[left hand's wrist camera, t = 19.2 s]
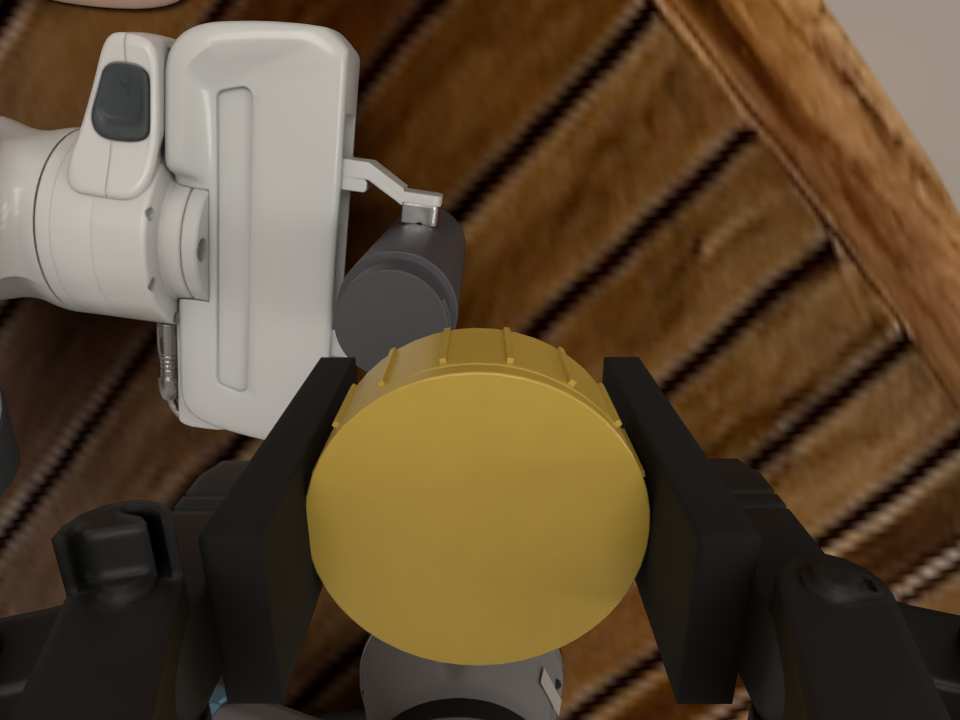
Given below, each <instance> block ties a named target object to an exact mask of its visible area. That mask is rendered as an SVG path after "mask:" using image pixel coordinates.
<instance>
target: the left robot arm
mask: <svg viewBox="0 0 960 720" xmlns="http://www.w3.org/2000/svg"><path fill="white" fill-rule="evenodd" d="M353 383H354V384H356V385H357V373H356V359H355V357H321V358H320V359H319V361H318V362H317V364H316V365H315V367H314V368H313V370H312V371H311V373H310V374H309V376H308V377H307V378H306V380H305V381H304V383H303V384H302V386H301V387H300V389H299V390H298V392H297V393H296V395H295V396H294V398H293V399H292V400H291V402H290V403H289V405H288V406H287V408H286V409H285V411H284V412H283V414H282V415H281V417H280V418H279V420H278V421H277V422H276V424H275V425H274V427H273V428H272V430H271V431H270V433H269V434H268V436H267V437H266V439H265V440H264V442H263V443H262V444H261V446H260V447H259V449H258V450H257V452H256V453H255V455H254V456H253V458H252V459H251V461H222V462H220V463H219V464H217V465H216V466H214V467H212V468H211V469H209V470H208V471H206V472H205V473H203V474H201V475H200V476H199V477H198V478H197V480H196V481H195V482H194V483H193V485H192V486H191V487H190V488H189V490H188V491H187V492H186V496H185V497H182V498H181V500H180V501H179V502H178V503H177V505H176V506H175V507H174V512H172V511H171V510H170V509H169V508H168V507H166V506H165V505H164V504H162V503H158V502H153V501H149V500H134V501H123V502H118V503H114V504H110V505H105V506H102V507H99V508H97V509H94V510H92V511H89V512H87V513H84V514H82V515H80V516H78V517H77V518H75V519H74V520H72V521H70V522H69V523H67V524H66V525H64V526H63V527H62V528H61V529H60V530H59V531H58V532H57V533H56V534H55V535H54V537H53V538H52V539H51V540H52V544H53V548H54V551H55V555H56V558H57V562H58V566H59V569H60V573H61V577H62V580H63V584H64V587H65V591H66V595H67V597H66V599H65V601H64V603H63V605H59V606H56V607H52V608H48V609H43V610H39V611H34V612H29V613H24V614H20V615H15V616H10V617H5V618H1V619H0V720H556V717H557V714H558V716H559V712H560V707H561V701H562V700H561V696H562V690H563V678H564V670H563V661H562V655H561V649H560V648H558V649H556V650H553V651H551V652H548V653H546V654H543V655H540V656H537V657H533V658H529V659H526V660H522V661H517V662H511V663H505V664H496V665H458V664H451V663H444V662H438V661H434V660H430V659H426V658H422V657H418V656H416V655H413V654H410V653H407V652H404V651H402V650H399V649H397V648H395V647H393V646H391V645H389V644H387V643H385V642H383V641H381V640H380V639H378V638H377V637H375V636H373V635H372V634H370V633H369V632H368V635H367V637H366V640H365V644H364V648H363V653H362V657H361V663H360V690H361V695H362V699H363V703H364V706H365V707H360V708H354V709H347V710H340V711H332V712H325V713H319V714H313V715H307V714H305V713H302V712H299V711H296V710H294V709H291V708H288V707H285V706H283V705H280V704H282V703H283V700H284V697H285V694H286V691H287V688H288V686H289V683H290V680H291V677H292V674H293V671H294V668H295V665H296V662H297V659H298V656H299V653H300V650H301V647H302V644H303V641H304V639H305V636H306V633H307V630H308V627H309V624H310V621H311V618H312V615H313V612H314V609H315V606H316V603H317V600H318V597H319V594H320V592H321V589H322V586H323V583H322V581H321V579H320V577H319V576H318V574H317V572H316V569H315V566H314V564H313V561H312V557H311V549H310V540H309V531H308V521H307V511H306V495H307V491H308V488H309V484H310V480H311V476H312V471H313V469H314V467H315V465H316V463H317V461H318V459H319V457H320V455H321V453H322V451H323V449H324V446H325V444H326V442H327V440H328V438H329V436H330V434H331V432H332V430H333V429H334V427H333V426H332V424H333V422H334V419H335V417H336V415H337V413H338V411H339V409H340V407H341V405H342V403H343V401H344V399H345V397H346V395H347V393H348V391H349V389H350V387H351V386H352V384H353ZM602 384H603V385H604V386H605V389H606V391H607V393H608V395H609V397H610V399H611V401H612V403H613V405H614V408H615V410H616V412H617V414H618V416H619V418H620V420H621V422H622V425H621V428H622V429H623V428H624V429H625V431H626V433H627V435H628V437H629V439H630V442H631V444H632V446H633V448H634V450H635V452H636V454H637V456H638V458H639V461H640V463H641V465H642V467H643V469H644V471H645V475H646V477H643V478H644V481H645V484H646V488H647V492H648V499H649V505H650V531H649V538H648V544H647V549H646V552H645V555H644V558H643V561H642V564H641V567H640V569H639V571H638V573H637V575H636V577H635V581H636V584H637V587H638V590H639V593H640V596H641V599H642V602H643V604H644V607H645V610H646V613H647V616H648V619H649V622H650V625H651V628H652V631H653V634H654V637H655V640H656V643H657V646H658V649H659V651H660V654H661V657H662V660H663V663H664V666H665V669H666V672H667V675H668V678H669V681H670V684H671V687H672V690H673V693H674V696H675V698H676V701H677V704H732V701H733V695H734V690H735V684H736V679H737V673H738V672H739V674H740V677H741V679H742V681H743V683H744V685H745V687H746V689H747V691H748V694H749V696H750V698H751V705H750V710H749V715H748V720H960V616H959V615H954V614H949V613H945V612H940V611H935V610H930V609H925V608H921V607H916V606H911V605H907V604H904V603H900V602H896V600H895V598H894V596H893V594H892V593H891V591H890V590H889V589H888V587H887V586H886V585H885V584H884V582H883V581H882V580H880V579H879V578H878V577H876V576H875V575H874V574H872V573H871V572H870V571H868V570H867V569H865V568H863V567H861V566H859V565H857V564H855V563H853V562H850V561H848V560H846V559H843V558H840V557H836V556H832V555H828V554H825V553H824V552H823V551H822V550H821V548H820V547H819V546H818V545H817V543H816V542H815V541H814V540H813V538H812V537H811V536H810V535H809V533H808V532H807V531H806V530H805V529H804V527H803V526H802V525H801V524H800V522H799V521H798V520H797V519H796V517H795V516H794V515H793V514H792V512H791V511H790V510H789V509H786V505H785V504H784V502H783V501H782V500H781V499H780V497H779V496H778V495H777V494H774V490H773V489H772V487H771V486H770V485H769V484H768V482H767V481H766V480H765V479H764V477H763V476H762V475H761V474H760V473H759V472H757V471H756V470H754V469H752V468H751V467H749V466H748V465H746V464H744V463H743V462H741V461H740V460H738V459H708V458H707V457H706V455H705V454H704V452H703V451H702V450H701V448H700V447H699V445H698V444H697V442H696V441H695V439H694V438H693V436H692V435H691V433H690V432H689V430H688V429H687V427H686V426H685V425H684V423H683V422H682V420H681V419H680V417H679V416H678V414H677V413H676V411H675V410H674V408H673V407H672V405H671V404H670V403H669V401H668V400H667V398H666V397H665V395H664V394H663V392H662V391H661V389H660V388H659V386H658V385H657V383H656V382H655V381H654V379H653V378H652V376H651V375H650V373H649V372H648V370H647V369H646V367H645V366H644V364H643V363H642V361H641V360H640V359H639V357H604V367H603V381H602ZM221 675H222V676H223V681H224V685H223V684H220V683H218V681H219V679H220V677H221Z"/></svg>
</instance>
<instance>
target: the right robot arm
mask: <svg viewBox="0 0 960 720" xmlns="http://www.w3.org/2000/svg"><path fill="white" fill-rule="evenodd" d="M359 66H360V59H359V56H358V53H357V52H356V51H355V49H354V48H353V47H352V46H351V44H350V43H349V42H348V41H347V40H346V39H345V37H344V36H343V35H341V34H340V33H339V32H337V31H335V30H332V29H330V28H326V27H321V26H315V25H308V24H299V23H289V22H273V21H224V22H212V23H205V24H202V25H198V26H195V27H193V28H191V29H189V30H187V31H185V32H184V33H183V34H182V35H180V36H179V37H178V38H177V40H176V39H173V38H169V37H165V36H161V35H156V34H151V33H143V32H117V33H113V34H111V35H110V36H109V37H108V38H107V40H106V41H105V43H104V46H103V48H102V51H101V55H100V59H99V63H98V67H97V71H96V75H95V79H94V83H93V87H92V91H91V94H90V98H89V102H88V105H87V109H86V112H85V115H84V119H83V122H82V125H81V127H72V128H65V129H59V130H38V129H35V128H31V127H29V126H26V125H24V124H22V123H20V122H18V121H15V120H13V119H10V118H7V117H4V116H0V300H5V299H13V298H20V297H33V298H39V299H42V300H45V301H48V302H50V303H52V304H54V305H56V306H59V307H62V308H65V309H68V310H72V311H77V312H85V313H93V314H101V315H109V316H116V317H124V318H130V319H137V320H145V321H153V322H156V337H157V352H158V357H159V365H160V374H159V376H158V388H159V393H160V396H161V398H162V399H164V400H167V402H168V405H169V407H170V409H171V410H172V412H173V413H174V414H175V415H176V416H177V417H178V418H179V419H180V421H181V422H182V423H184V424H186V425H189V426H192V427H199V428H207V429H215V430H222V429H225V430H229V431H232V432H235V433H239V434H243V435H246V436H250V437H254V438H259V439H263V440H265V439H266V437H267V436H268V434H269V433H270V431H271V430H272V428H273V427H274V425H275V424H276V422H277V421H278V420H279V418H280V417H281V415H282V414H283V412H284V411H285V409H286V408H287V406H288V405H289V403H290V402H291V400H292V399H293V398H294V396H295V395H296V393H297V392H298V390H299V389H300V387H301V386H302V384H303V383H304V381H305V380H306V378H307V377H308V376H309V374H310V373H311V371H312V370H313V368H314V367H315V365H316V364H317V362H318V361H319V359H320V358H321V357H347V356H346V355H345V353H344V352H343V350H342V349H341V347H340V345H339V343H338V340H337V337H336V334H335V329H334V314H335V309H336V302H337V298H338V293H339V290H340V287H341V284H342V282H343V280H344V278H345V266H346V252H347V238H348V223H349V209H350V195H351V191H357V192H365V191H367V190H369V189H370V188H372V187H373V184H374V185H375V186H377V187H378V188H379V189H381V190H382V191H383V192H385V193H386V194H387V195H389V196H390V197H391V198H393V199H394V200H395V201H397V202H398V203H399V204H401V205H402V204H403V206H402V219H401V222H402V223H408V224H417V223H418V222H421V223H422V224H423V225H425V226H429V227H438V226H439V223H440V215H441V208H442V200H443V194H441V193H437V192H431V191H424V190H417V189H410V188H408V185H406V184H405V183H404V182H403V181H401V180H400V179H399V178H398V177H396V176H395V175H394V174H393V173H391V172H390V171H389V170H388V169H386V168H385V167H384V166H382V165H381V164H380V163H379V162H377V161H376V160H371V159H364V158H358V157H353V152H354V138H355V123H356V109H357V95H358V81H359ZM176 399H178V401H179V406H178V405H177V403H176ZM19 463H20V453H19V448H18V445H17V441H16V438H15V434H14V430H13V427H12V423H11V419H10V415H9V412H8V408H7V404H6V401H5V397H4V393H3V391H2V389H1V387H0V496H1V495H2V494H3V493H4V491H5V490H6V489H7V488H8V486H9V485H10V484H11V482H12V481H13V479H14V477H15V475H16V473H17V470H18V467H19Z"/></svg>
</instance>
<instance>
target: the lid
mask: <svg viewBox="0 0 960 720" xmlns="http://www.w3.org/2000/svg"><path fill="white" fill-rule="evenodd" d="M621 425H622V422H621V420H620V418H619V416H618V414H617V412H616V410H615V408H614V405H613V403H612V401H611V399H610V397H609V395H608V393H607V391H606V389H605V386H604V385H603V384H602V382H601V383H599V384H597V383H596V381H595V380H594V379H593V378H592V377H591V376H590V375H589V374H588V373H587V372H586V371H585V369H584V368H582V367H581V366H580V365H579V364H578V363H576V362H575V361H574V360H573V359H571V358H570V357H569V356H567V355H566V353H565V351H564V349H563V348H562V347H560V346H559V347H558V348H557V349H556V348H555V347H553V346H551V345H549V344H546V343H544V342H542V341H540V340H538V339H535V338H532V337H529V336H526V335H523V334H519V333H516V332H511V331H510V328H507V327H504V328H503V330H499V329H488V328H468V329H455V330H451V329H450V327H448V328H444V332H440V333H436V334H432V335H429V336H426V337H424V338H421V339H418V340H415V341H413V342H411V343H409V344H407V345H405V346H403V347H401V348H399V349H396V347H394V348H392V349H391V350H390V352H389V354H388V356H387V357H385V358H384V359H383V360H381V361H380V362H379V363H378V364H377V365H376V366H375V367H373V368H372V369H371V370H370V371H369V372H368V373H367V374H366V375H365V376H364V378H363V379H362V380H361V381H360V382H359V384H358V385H356V384H354V383H353V384H352V386H351V387H350V389H349V391H348V393H347V395H346V397H345V399H344V401H343V403H342V405H341V407H340V409H339V411H338V413H337V415H336V417H335V419H334V422H333V424H332V426H333V427H334V429H333V430H332V432H331V434H330V436H329V438H328V440H327V442H326V444H325V446H324V449H323V451H322V453H321V455H320V457H319V459H318V461H317V463H316V465H315V467H314V469H313V471H312V476H311V480H310V484H309V488H308V491H307V495H306V511H307V521H308V531H309V540H310V549H311V557H312V561H313V564H314V566H315V569H316V572H317V574H318V576H319V577H320V579H321V581H322V583H323V585H324V587H325V588H326V590H327V591H328V593H329V594H330V595H331V597H332V598H333V599H334V601H335V602H336V603H337V605H338V606H339V607H340V608H341V609H342V610H343V611H344V612H345V613H346V614H347V615H348V616H349V617H350V618H351V619H352V620H353V621H355V622H356V623H357V624H358V625H360V626H361V627H362V628H363V629H364V630H366V631H367V632H369V633H370V634H372V635H373V636H375V637H377V638H378V639H380V640H381V641H383V642H385V643H387V644H389V645H391V646H393V647H395V648H397V649H399V650H402V651H404V652H407V653H410V654H413V655H416V656H418V657H422V658H426V659H430V660H434V661H438V662H444V663H451V664H458V665H496V664H505V663H511V662H517V661H522V660H526V659H529V658H533V657H537V656H540V655H543V654H546V653H548V652H551V651H553V650H556V649H558V648H560V647H562V646H564V645H566V644H568V643H570V642H572V641H574V640H576V639H577V638H579V637H580V636H582V635H583V634H585V633H586V632H588V631H589V630H591V629H592V628H594V627H595V626H596V625H597V624H598V623H599V622H601V621H602V620H603V619H604V618H605V617H606V616H607V615H608V614H609V613H610V612H611V611H612V610H613V609H614V608H615V607H616V606H617V604H618V603H619V602H620V601H621V600H622V598H623V597H624V595H625V594H626V593H627V591H628V590H629V588H630V587H631V585H632V584H633V582H634V579H635V577H636V575H637V573H638V571H639V569H640V567H641V564H642V561H643V558H644V555H645V552H646V549H647V544H648V538H649V531H650V505H649V499H648V492H647V488H646V484H645V481H644V478H643V477H646V475H645V471H644V469H643V467H642V465H641V463H640V461H639V458H638V456H637V454H636V452H635V450H634V448H633V446H632V444H631V442H630V439H629V437H628V435H627V433H626V431H625V429H624V428H623V429H622V428H621Z"/></svg>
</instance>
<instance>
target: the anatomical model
mask: <svg viewBox="0 0 960 720" xmlns="http://www.w3.org/2000/svg"><path fill="white" fill-rule="evenodd" d="M54 1H60V2H65V3H71V4H77V5H85V6H94V7H105V8H121V9H141V8H155V7H162V6H166V5H170V4H173V3H175V2H178V1H180V0H54Z"/></svg>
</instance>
